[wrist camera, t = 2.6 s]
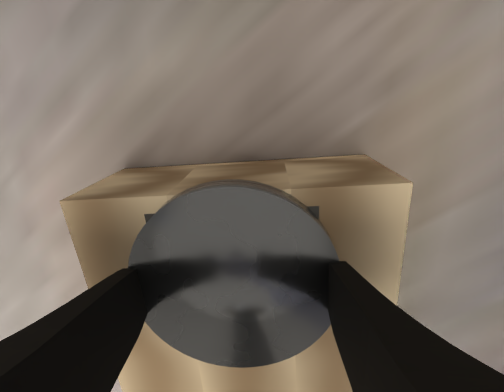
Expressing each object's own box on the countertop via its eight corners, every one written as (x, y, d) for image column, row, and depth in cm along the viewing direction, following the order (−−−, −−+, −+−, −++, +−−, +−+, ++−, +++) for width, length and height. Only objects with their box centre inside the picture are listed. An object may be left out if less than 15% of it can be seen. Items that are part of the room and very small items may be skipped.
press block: (364, 154, 14) (412, 183, 9) (347, 404, 21) (371, 495, 16) (123, 168, 15) (59, 201, 10) (179, 403, 22) (154, 488, 17)
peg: (320, 152, 13) (348, 181, 9) (318, 291, 16) (338, 367, 11) (157, 162, 14) (103, 194, 9) (182, 294, 16) (150, 367, 12)
